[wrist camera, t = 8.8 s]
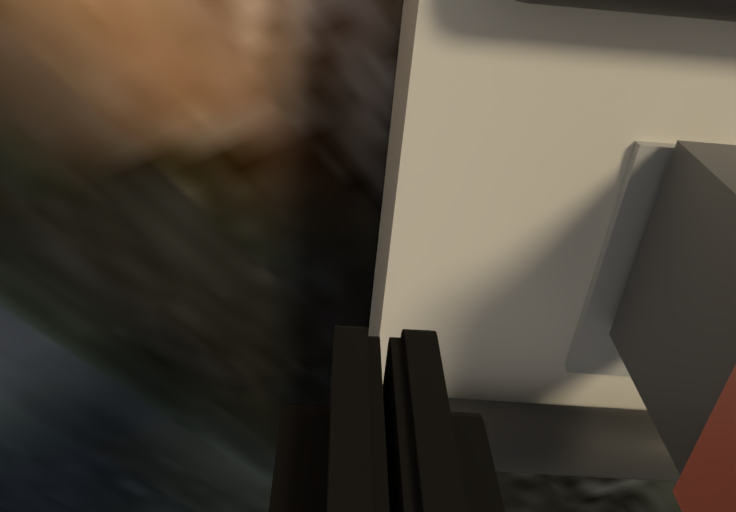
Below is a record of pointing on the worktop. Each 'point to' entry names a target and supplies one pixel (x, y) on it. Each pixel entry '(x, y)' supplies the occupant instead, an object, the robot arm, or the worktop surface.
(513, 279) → the breaker box
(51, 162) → the worktop surface
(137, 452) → the worktop surface
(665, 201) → the breaker handle
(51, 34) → the worktop surface
